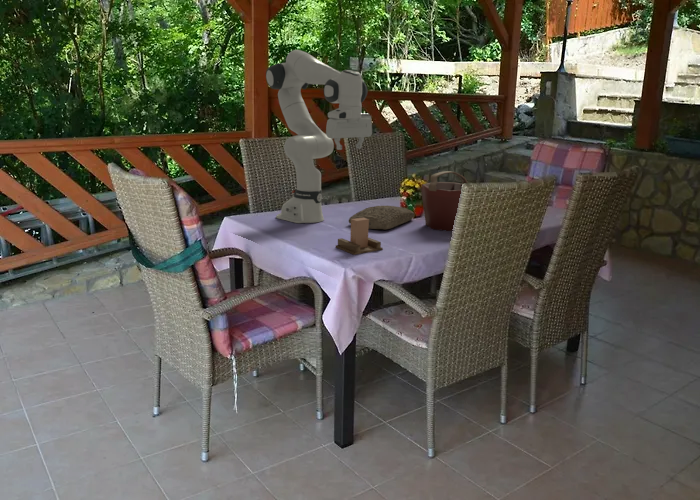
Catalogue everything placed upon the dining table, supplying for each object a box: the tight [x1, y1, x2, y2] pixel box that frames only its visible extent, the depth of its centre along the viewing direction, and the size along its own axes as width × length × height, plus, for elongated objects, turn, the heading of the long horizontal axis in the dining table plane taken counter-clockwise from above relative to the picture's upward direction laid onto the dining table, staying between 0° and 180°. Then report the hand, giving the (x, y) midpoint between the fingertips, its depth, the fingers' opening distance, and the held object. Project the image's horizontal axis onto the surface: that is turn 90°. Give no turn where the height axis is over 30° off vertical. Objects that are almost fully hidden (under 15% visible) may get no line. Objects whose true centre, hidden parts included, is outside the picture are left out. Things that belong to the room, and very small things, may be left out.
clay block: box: [350, 218, 369, 248], centre depth 246 cm, size 6×4×11 cm, turn 126°
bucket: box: [421, 170, 469, 232], centre depth 285 cm, size 24×22×25 cm
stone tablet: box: [348, 205, 415, 230], centre depth 290 cm, size 20×8×30 cm
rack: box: [335, 236, 383, 256], centre depth 247 cm, size 14×12×3 cm
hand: (349, 149), depth 250 cm, fingers open, 8 cm apart
